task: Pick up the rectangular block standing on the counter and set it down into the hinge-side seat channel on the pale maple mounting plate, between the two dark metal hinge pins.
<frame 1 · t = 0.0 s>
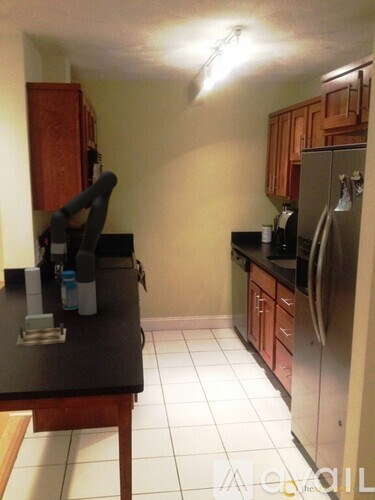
hand: (59, 282, 224), 17 cm above the counter, tool pointing down, fingers open, 8 cm apart
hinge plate: (42, 338, 196), on the counter
rectangular block: (40, 330, 206), on the counter
blue pill bottle: (70, 308, 238), on the counter
cylindrical container: (35, 316, 225), on the counter
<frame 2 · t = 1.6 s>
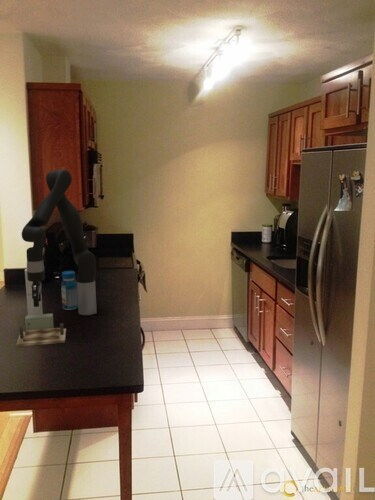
hand: (37, 303, 204), 13 cm above the counter, tool pointing down, fingers open, 8 cm apart
nothing on the counter moved.
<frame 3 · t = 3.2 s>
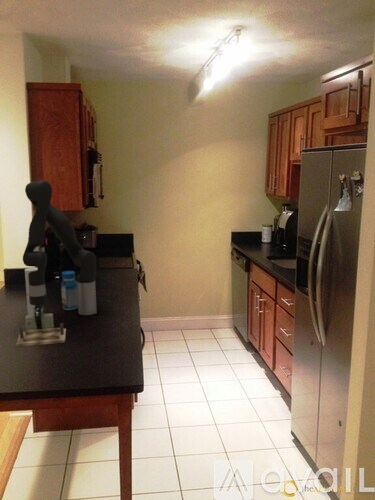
hand: (40, 328, 206), 1 cm above the counter, tool pointing down, fingers closed on rectangular block, 4 cm apart
rectangular block: (40, 329, 206), on the counter, touching gripper
everything else where it was.
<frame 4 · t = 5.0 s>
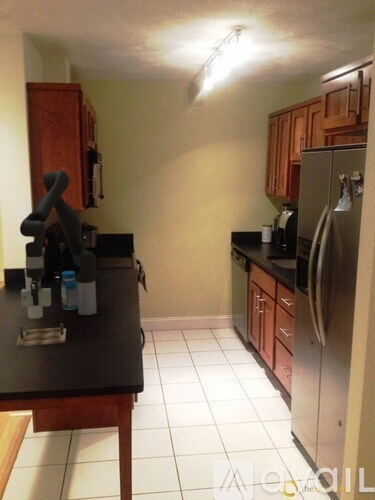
hand: (36, 303, 195), 16 cm above the counter, tool pointing down, fingers closed on rectangular block, 4 cm apart
rectangular block: (36, 305, 195), point 15 cm above the counter, touching gripper
everything else where it was.
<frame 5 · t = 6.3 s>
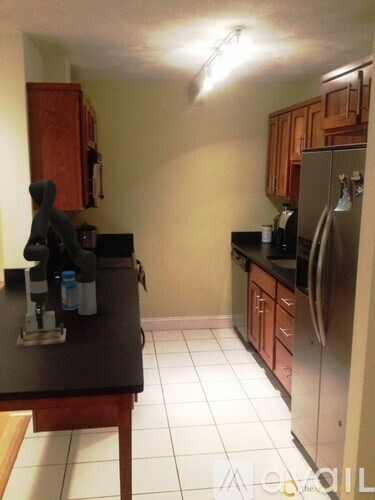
hand: (41, 326, 195), 6 cm above the counter, tool pointing down, fingers closed on rectangular block, 4 cm apart
rectangular block: (41, 328, 195), point 5 cm above the counter, touching gripper
everything else where it was.
when the fingers open (4 cm above the counter, at t = 7.0 s): rectangular block drops 1 cm, resting on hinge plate.
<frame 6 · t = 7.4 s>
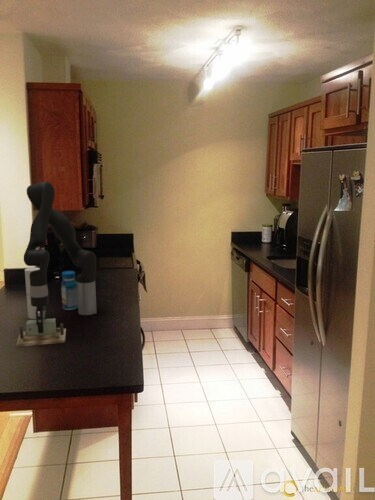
hand: (41, 329, 195), 4 cm above the counter, tool pointing down, fingers open, 8 cm apart
rectangular block: (42, 335, 196), point 1 cm above the counter, touching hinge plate
everything else where it was.
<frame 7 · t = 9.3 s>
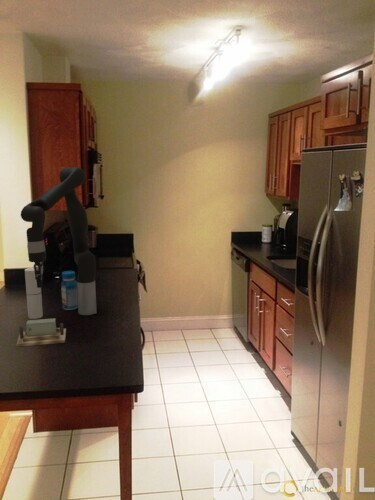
hand: (40, 284, 201), 22 cm above the counter, tool pointing down, fingers open, 8 cm apart
nothing on the counter moved.
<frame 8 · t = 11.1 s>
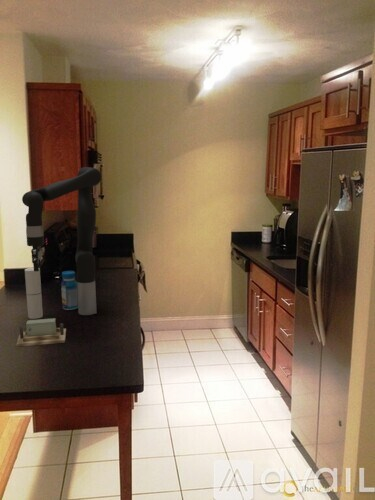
hand: (37, 269, 207), 28 cm above the counter, tool pointing down, fingers open, 8 cm apart
nothing on the counter moved.
at the end: rectangular block 0.1 cm off-centre on the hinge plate, point 1.2 cm above the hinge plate's base; rectangular block tilted 0°; the gripper is holding nothing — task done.
